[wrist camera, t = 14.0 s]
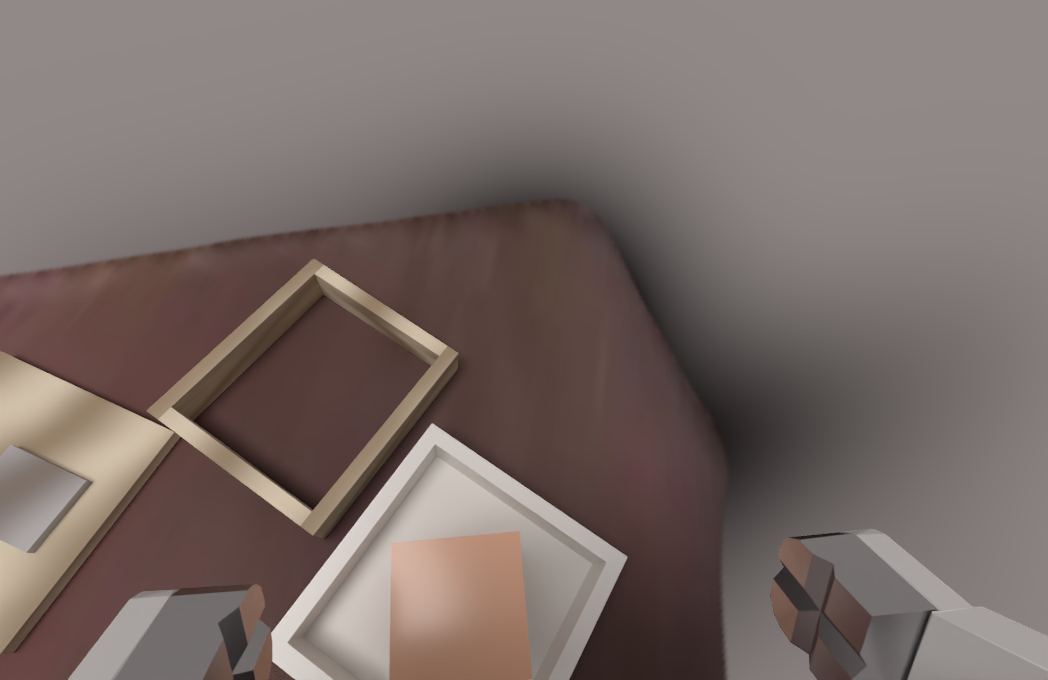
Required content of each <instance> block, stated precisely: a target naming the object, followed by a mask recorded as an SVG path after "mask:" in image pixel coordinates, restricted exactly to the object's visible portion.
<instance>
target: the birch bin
mask: <svg viewBox="0 0 1048 680" xmlns="http://www.w3.org/2000/svg"><path fill="white" fill-rule="evenodd" d="M323 295H325V296H326V297H328V298H329V299H331V300H332V301H334V302H335V303H337V304H338V305H340V306H341V307H343V308H344V309H346V310H347V311H349V312H350V313H352V314H353V315H355V316H356V317H358V318H359V319H361V320H362V321H364V322H365V323H367V324H368V325H370V326H371V327H373V328H374V329H376V330H377V331H379V332H380V333H382V334H383V335H385V336H386V337H388V338H389V339H391V340H392V341H394V342H395V343H397V344H399V345H400V346H402V347H403V348H405V349H406V350H408V351H409V352H411V353H412V354H414V355H415V356H417V357H418V358H420V359H421V360H423V361H424V362H426V363H427V364H429V365H430V366H431V367H430V368H429V369H428V371H427V372H426V373H425V374H424V375H423V377H422V378H421V379H420V380H419V382H418V383H417V384H416V385H415V386H414V388H413V389H412V390H411V391H410V393H409V394H408V395H407V396H406V397H405V399H404V400H403V401H402V402H401V404H400V405H399V406H398V407H397V408H396V410H395V411H394V412H393V413H392V414H391V416H390V417H389V418H388V419H387V421H386V422H385V423H384V424H383V425H382V427H381V428H380V429H379V430H378V432H377V433H376V434H375V435H374V436H373V438H372V439H371V440H370V441H369V443H368V444H367V445H366V446H365V447H364V449H363V450H362V451H361V452H360V454H359V455H358V456H357V457H356V458H355V460H354V461H353V462H352V463H351V465H350V466H349V467H348V468H347V469H346V471H345V472H344V473H343V474H342V476H341V477H340V478H339V479H338V480H337V482H336V483H335V484H334V485H333V487H332V488H331V489H330V490H329V491H328V493H327V494H326V495H325V496H324V498H323V499H322V500H321V501H320V502H319V504H318V505H317V506H316V507H315V509H314V510H313V509H311V508H310V507H309V506H307V505H306V504H305V503H303V502H302V501H301V500H299V499H298V498H297V497H295V496H294V495H292V494H291V493H290V492H288V491H287V490H286V489H284V488H283V487H282V486H280V485H279V484H278V483H276V482H275V481H274V480H272V479H271V478H270V477H268V476H267V475H265V474H264V473H263V472H261V471H260V470H259V469H257V468H256V467H255V466H253V465H252V464H251V463H249V462H248V461H247V460H245V459H244V458H243V457H241V456H240V455H238V454H237V453H236V452H234V451H233V450H232V449H230V448H229V447H228V446H226V445H225V444H224V443H222V442H221V441H220V440H218V439H217V438H216V437H214V436H213V435H211V434H210V433H209V432H207V431H206V430H205V429H203V428H202V427H201V426H199V425H198V424H197V423H195V422H194V420H195V419H196V418H197V417H198V416H199V415H200V414H201V413H202V412H203V411H204V410H205V409H206V408H207V407H208V406H209V405H210V404H211V403H212V402H213V401H214V400H215V399H216V398H218V397H219V396H220V395H221V394H222V393H223V392H224V391H225V390H226V389H227V388H228V387H229V386H230V385H231V384H232V383H233V382H234V381H235V380H236V379H237V378H238V377H239V376H240V375H241V374H242V373H243V372H244V371H245V370H246V369H247V368H249V367H250V366H251V365H252V364H253V363H254V362H255V361H256V360H257V359H258V358H259V357H260V356H261V355H262V354H263V353H264V352H265V351H266V350H267V349H268V348H269V347H270V346H271V345H272V344H273V343H274V342H275V341H276V340H277V339H278V338H280V337H281V336H282V335H283V334H284V333H285V332H286V331H287V330H288V329H289V328H290V327H291V326H292V325H293V324H294V323H295V322H296V321H297V320H298V319H299V318H300V317H301V316H302V315H303V314H304V313H305V312H306V311H307V310H308V309H310V308H311V307H312V306H313V305H314V304H315V303H316V302H317V301H318V300H319V299H320V298H321V297H322V296H323ZM458 355H459V353H457V352H456V351H454V350H453V349H451V348H450V347H448V346H447V345H445V344H444V343H442V342H441V341H439V340H438V339H436V338H434V337H433V336H431V335H430V334H428V333H427V332H425V331H424V330H422V329H421V328H419V327H418V326H416V325H415V324H413V323H412V322H410V321H409V320H407V319H405V318H404V317H402V316H401V315H399V314H398V313H396V312H395V311H393V310H392V309H390V308H389V307H387V306H386V305H384V304H383V303H381V302H379V301H378V300H376V299H375V298H373V297H372V296H370V295H369V294H367V293H366V292H364V291H363V290H361V289H360V288H358V287H357V286H355V285H353V284H352V283H350V282H349V281H347V280H346V279H344V278H343V277H341V276H340V275H338V274H337V273H335V272H334V271H332V270H331V269H329V268H328V267H326V266H324V265H323V264H321V263H320V262H318V261H317V260H315V259H313V260H311V261H310V262H309V263H308V264H307V265H306V266H305V267H304V268H303V269H302V270H300V271H299V272H298V273H297V274H296V275H295V276H294V277H293V278H292V279H291V280H289V281H288V282H287V283H286V284H285V285H284V286H283V287H282V288H281V289H280V290H278V291H277V292H276V293H275V294H274V295H273V296H272V297H271V298H270V299H269V300H267V301H266V302H265V303H264V304H263V305H262V306H261V307H260V308H259V309H258V310H257V311H255V312H254V313H253V314H252V315H251V316H250V317H249V318H248V319H247V320H246V321H244V322H243V323H242V324H241V325H240V326H239V327H238V328H237V329H236V330H235V331H233V332H232V333H231V334H230V335H229V336H228V337H227V338H226V339H225V340H224V341H222V342H221V343H220V344H219V345H218V346H217V347H216V348H215V349H214V350H213V351H211V352H210V353H209V354H208V355H207V356H206V357H205V358H204V359H203V360H202V361H200V362H199V363H198V364H197V365H196V366H195V367H194V368H193V369H192V370H191V371H190V372H188V373H187V374H186V375H185V376H184V377H183V378H182V379H181V380H180V381H179V382H177V383H176V384H175V385H174V386H173V387H172V388H171V389H170V390H169V391H168V392H166V393H165V394H164V395H163V396H162V397H161V398H160V399H159V400H158V401H157V402H155V403H154V404H153V405H152V406H151V407H150V408H149V409H148V410H147V412H149V413H150V414H151V415H153V416H154V417H155V418H157V419H158V420H159V421H161V422H162V423H163V424H165V425H166V426H167V427H169V428H170V429H171V430H173V431H174V432H175V433H177V434H178V435H179V436H181V437H182V438H183V439H185V440H186V441H187V442H189V443H190V444H191V445H193V446H194V447H195V448H197V449H198V450H199V451H201V452H202V453H203V454H205V455H206V456H207V457H209V458H210V459H211V460H213V461H214V462H215V463H217V464H218V465H219V466H221V467H222V468H223V469H225V470H226V471H227V472H229V473H230V474H231V475H233V476H234V477H235V478H237V479H238V480H239V481H241V482H242V483H243V484H245V485H246V486H247V487H249V488H250V489H251V490H253V491H254V492H255V493H257V494H258V495H259V496H261V497H262V498H263V499H265V500H266V501H267V502H269V503H270V504H271V505H273V506H274V507H275V508H277V509H278V510H279V511H281V512H282V513H283V514H285V515H286V516H287V517H289V518H290V519H291V520H293V521H294V522H295V523H297V524H298V525H299V526H301V527H302V528H303V529H305V530H306V531H307V532H309V533H310V534H311V535H313V536H316V537H319V538H322V539H325V538H326V537H327V536H328V534H329V533H330V532H331V531H332V529H333V528H334V527H335V525H336V524H337V523H338V522H339V520H340V519H341V518H342V517H343V515H344V514H345V513H346V511H347V510H348V509H349V508H350V506H351V505H352V504H353V502H354V501H355V500H356V499H357V497H358V496H359V495H360V494H361V492H362V491H363V490H364V488H365V487H366V486H367V485H368V483H369V482H370V481H371V480H372V478H373V477H374V476H375V474H376V473H377V472H378V471H379V469H380V468H381V467H382V466H383V464H384V463H385V462H386V460H387V459H388V458H389V457H390V455H391V454H392V453H393V451H394V450H395V449H396V448H397V446H398V445H399V444H400V443H401V441H402V440H403V439H404V437H405V436H406V435H407V434H408V432H409V431H410V430H411V429H412V427H413V426H414V425H415V423H416V422H417V421H418V420H419V418H420V417H421V416H422V414H423V413H424V412H425V411H426V409H427V408H428V407H429V406H430V404H431V403H432V402H433V400H434V399H435V398H436V397H437V395H438V394H439V393H440V392H441V390H442V389H443V388H444V386H445V385H446V384H447V383H448V381H449V380H450V379H451V378H452V376H453V375H454V374H455V372H456V371H457V370H458Z"/></svg>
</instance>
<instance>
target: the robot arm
mask: <svg viewBox="0 0 1048 680" xmlns="http://www.w3.org/2000/svg"><path fill="white" fill-rule="evenodd" d="M778 557H779V559H780V561H781V563H782V564H783V566H784V568H783V569H782V570H781V571H780V572H779V573H778V574H777V575H776V576H775V577H774V579H773V582H772V588H771V594H770V597H771V602H772V607H773V612H774V615H775V617H776V619H777V621H778V624H779V626H780V628H781V629H782V631H783V632H784V634H785V635H786V636H787V638H788V639H789V641H790V642H791V643H793V644H794V645H796V646H797V647H799V648H800V649H802V650H803V651H805V652H806V653H808V654H809V663H810V670H811V671H812V673H813V674H814V676H815V677H816V678H817V680H1048V636H1046V635H1044V634H1042V633H1039V632H1037V631H1035V630H1033V629H1031V628H1029V627H1026V626H1024V625H1022V624H1020V623H1018V622H1015V621H1013V620H1011V619H1009V618H1007V617H1005V616H1002V615H1000V614H998V613H996V612H994V611H991V610H989V609H987V608H985V607H983V606H981V607H972V606H971V605H970V604H968V603H967V602H966V601H965V600H964V599H963V598H961V597H960V596H959V595H958V594H956V593H955V592H954V591H953V590H952V589H951V588H949V587H948V586H947V585H946V584H945V583H943V582H942V581H941V580H940V579H938V578H937V577H936V576H935V575H934V574H933V573H931V572H930V571H929V570H928V569H927V568H925V567H924V566H923V565H922V564H921V563H919V562H918V561H917V560H916V559H915V558H913V557H912V556H911V555H910V554H908V553H907V552H906V551H905V550H904V549H902V548H901V547H900V546H899V545H898V544H897V543H895V542H894V541H893V540H892V539H890V538H889V537H888V536H887V535H886V534H884V533H882V532H880V531H877V530H875V529H864V530H854V531H845V532H842V533H840V532H837V533H828V534H817V535H807V536H796V537H787V538H786V540H785V541H784V542H783V543H782V544H781V547H780V551H779V555H778ZM264 606H265V601H264V597H263V593H262V589H261V586H259V585H256V584H244V585H228V586H212V587H196V588H181V589H180V590H163V591H144V592H141V593H139V594H137V595H136V596H134V597H133V598H131V599H130V600H129V601H128V602H127V603H126V605H125V606H124V607H123V608H122V610H121V611H120V612H119V614H118V615H117V616H116V618H115V619H114V620H113V621H112V623H111V624H110V625H109V627H108V628H107V629H106V631H105V632H104V633H103V634H102V636H101V637H100V638H99V640H98V641H97V642H96V644H95V645H94V646H93V648H92V649H91V650H90V651H89V653H88V654H87V655H86V657H85V658H84V659H83V661H82V662H81V663H80V664H79V666H78V667H77V668H76V670H75V671H74V672H73V674H72V675H71V676H70V677H69V679H68V680H269V675H270V669H271V664H272V637H271V631H270V628H269V627H268V626H267V625H265V624H264V623H263V622H262V621H260V620H259V618H260V616H261V613H262V611H263V608H264Z"/></svg>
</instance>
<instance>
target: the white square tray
mask: <svg viewBox="0 0 1048 680" xmlns="http://www.w3.org/2000/svg"><path fill="white" fill-rule="evenodd" d="M516 531H519V532H520V544H521V555H522V567H523V578H524V589H525V601H526V612H527V624H528V635H529V647H530V658H531V669H532V679H531V680H569V679H570V677H571V675H572V673H573V671H574V668H575V666H576V664H577V662H578V660H579V658H580V656H581V654H582V652H583V650H584V648H585V645H586V643H587V641H588V639H589V637H590V635H591V633H592V631H593V629H594V627H595V624H596V622H597V620H598V618H599V616H600V614H601V612H602V610H603V608H604V606H605V604H606V601H607V599H608V597H609V595H610V593H611V591H612V589H613V587H614V585H615V583H616V580H617V578H618V576H619V574H620V572H621V570H622V568H623V566H624V564H625V562H626V560H627V556H626V555H624V554H623V553H621V552H620V551H618V550H617V549H615V548H614V547H612V546H611V545H610V544H608V543H607V542H605V541H604V540H602V539H601V538H599V537H598V536H596V535H595V534H593V533H592V532H591V531H589V530H588V529H586V528H585V527H583V526H582V525H580V524H579V523H577V522H576V521H574V520H573V519H571V518H570V517H569V516H567V515H566V514H564V513H563V512H561V511H560V510H558V509H557V508H555V507H554V506H552V505H551V504H550V503H548V502H547V501H545V500H544V499H542V498H541V497H539V496H538V495H536V494H535V493H533V492H532V491H530V490H529V489H528V488H526V487H525V486H523V485H522V484H520V483H519V482H517V481H516V480H514V479H513V478H511V477H510V476H509V475H507V474H506V473H504V472H503V471H501V470H500V469H498V468H497V467H495V466H494V465H492V464H491V463H490V462H488V461H487V460H485V459H484V458H482V457H481V456H479V455H478V454H476V453H475V452H473V451H472V450H470V449H469V448H468V447H466V446H465V445H463V444H462V443H460V442H459V441H457V440H456V439H454V438H453V437H451V436H450V435H449V434H447V433H446V432H444V431H443V430H441V429H440V428H438V427H437V426H435V425H434V424H431V425H430V427H429V428H428V429H427V431H426V432H425V433H424V435H423V436H422V437H421V438H420V440H419V441H418V442H417V444H416V445H415V446H414V448H413V449H412V450H411V451H410V453H409V454H408V455H407V457H406V458H405V459H404V461H403V462H402V463H401V465H400V466H399V467H398V468H397V470H396V471H395V472H394V474H393V475H392V476H391V478H390V479H389V480H388V482H387V483H386V484H385V485H384V487H383V488H382V489H381V491H380V492H379V493H378V495H377V496H376V497H375V498H374V500H373V501H372V502H371V504H370V505H369V506H368V508H367V509H366V510H365V512H364V513H363V514H362V515H361V517H360V518H359V519H358V521H357V522H356V523H355V525H354V526H353V527H352V529H351V530H350V531H349V532H348V534H347V535H346V536H345V538H344V539H343V540H342V542H341V543H340V544H339V546H338V547H337V548H336V549H335V551H334V552H333V553H332V555H331V556H330V557H329V559H328V560H327V561H326V562H325V564H324V565H323V566H322V568H321V569H320V570H319V572H318V573H317V574H316V576H315V577H314V578H313V579H312V581H311V582H310V583H309V585H308V586H307V587H306V589H305V590H304V591H303V593H302V594H301V595H300V596H299V598H298V599H297V600H296V602H295V603H294V604H293V606H292V607H291V608H290V609H289V611H288V612H287V613H286V615H285V616H284V617H283V619H282V620H281V621H280V623H279V624H278V625H277V626H276V628H275V629H274V630H273V632H272V633H271V637H272V661H273V662H274V663H275V664H276V665H278V666H279V667H280V668H281V669H283V670H284V671H285V672H286V673H288V674H289V675H290V676H291V677H293V678H294V679H295V680H389V665H390V604H391V543H398V542H409V541H420V540H430V539H441V538H452V537H462V536H473V535H484V534H494V533H505V532H516Z"/></svg>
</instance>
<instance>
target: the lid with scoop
mask: <svg viewBox="0 0 1048 680" xmlns="http://www.w3.org/2000/svg"><path fill="white" fill-rule="evenodd" d="M180 437H181V436H179V435H178V434H177V433H175V432H173V431H171V430H169V429H167V428H165V427H163V426H160V425H158V424H156V423H154V422H152V421H150V420H148V419H145V418H143V417H141V416H139V415H137V414H135V413H133V412H130V411H128V410H126V409H124V408H122V407H120V406H117V405H115V404H113V403H111V402H109V401H107V400H105V399H102V398H100V397H98V396H96V395H94V394H92V393H89V392H87V391H85V390H83V389H81V388H79V387H77V386H74V385H72V384H70V383H68V382H66V381H64V380H62V379H59V378H57V377H55V376H53V375H51V374H49V373H46V372H44V371H42V370H40V369H38V368H36V367H34V366H31V365H29V364H27V363H25V362H23V361H21V360H19V359H16V358H14V357H12V356H10V355H8V354H6V353H3V352H1V351H0V655H2V654H8V653H14V652H15V651H16V649H17V648H18V647H19V645H20V644H21V643H22V642H23V640H24V639H25V638H26V636H27V635H28V634H29V632H30V631H31V630H32V629H33V627H34V626H35V625H36V623H37V622H38V621H39V620H40V618H41V617H42V616H43V614H44V613H45V612H46V611H47V609H48V608H49V607H50V605H51V604H52V603H53V601H54V600H55V599H56V598H57V596H58V595H59V594H60V592H61V591H62V590H63V589H64V587H65V586H66V585H67V583H68V582H69V581H70V580H71V578H72V577H73V576H74V574H75V573H76V572H77V570H78V569H79V568H80V567H81V565H82V564H83V563H84V561H85V560H86V559H87V558H88V556H89V555H90V554H91V552H92V551H93V550H94V548H95V547H96V546H97V545H98V543H99V542H100V541H101V539H102V538H103V537H104V536H105V534H106V533H107V532H108V530H109V529H110V528H111V527H112V525H113V524H114V523H115V521H116V520H117V519H118V517H119V516H120V515H121V514H122V512H123V511H124V510H125V508H126V507H127V506H128V505H129V503H130V502H131V501H132V499H133V498H134V497H135V496H136V494H137V493H138V492H139V490H140V489H141V488H142V486H143V485H144V484H145V483H146V481H147V480H148V479H149V477H150V476H151V475H152V474H153V472H154V471H155V470H156V468H157V467H158V466H159V465H160V463H161V462H162V461H163V459H164V458H165V457H166V455H167V454H168V453H169V452H170V450H171V449H172V448H173V446H174V445H175V444H176V443H177V441H178V440H179V439H180Z"/></svg>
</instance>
